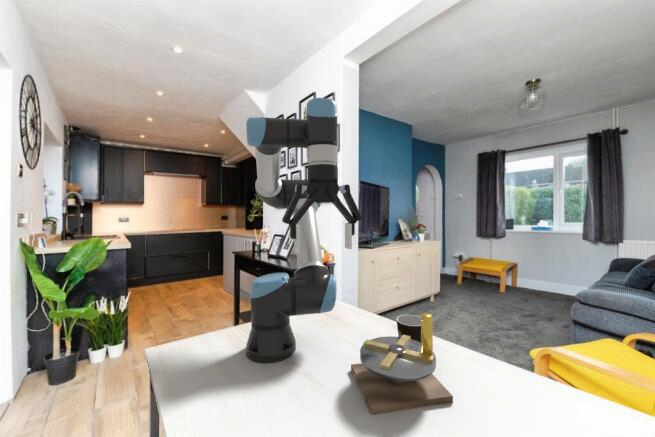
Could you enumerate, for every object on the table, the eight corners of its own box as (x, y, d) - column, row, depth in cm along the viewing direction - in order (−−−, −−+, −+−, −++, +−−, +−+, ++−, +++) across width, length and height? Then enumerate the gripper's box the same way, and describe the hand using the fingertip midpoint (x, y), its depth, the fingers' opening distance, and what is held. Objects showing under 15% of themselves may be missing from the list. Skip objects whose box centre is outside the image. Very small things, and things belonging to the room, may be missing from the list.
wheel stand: (351, 369, 77) (350, 348, 77) (416, 362, 81) (416, 341, 80) (371, 414, 61) (371, 386, 60) (452, 402, 64) (452, 376, 64)
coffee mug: (428, 361, 81) (428, 327, 80) (397, 359, 83) (396, 325, 82) (423, 342, 92) (423, 312, 92) (395, 340, 94) (395, 310, 94)
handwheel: (425, 390, 58) (425, 335, 58) (347, 366, 68) (346, 318, 67) (442, 352, 73) (442, 307, 73) (376, 336, 83) (376, 297, 82)
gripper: (361, 167, 78) (361, 244, 80) (269, 165, 70) (271, 251, 71) (374, 164, 71) (374, 249, 73) (274, 161, 63) (276, 256, 64)
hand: (323, 250), depth 72 cm, fingers open, 13 cm apart
